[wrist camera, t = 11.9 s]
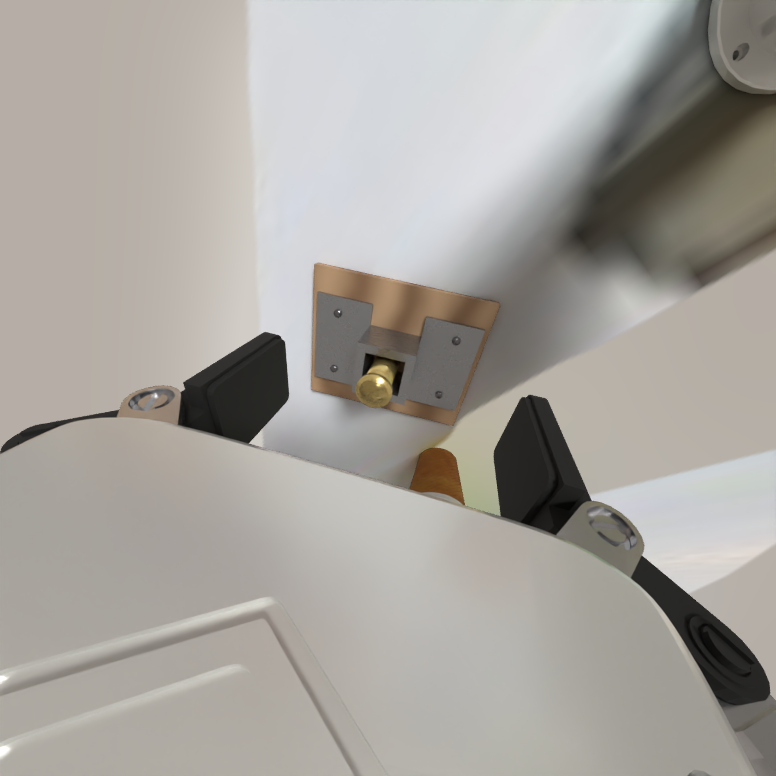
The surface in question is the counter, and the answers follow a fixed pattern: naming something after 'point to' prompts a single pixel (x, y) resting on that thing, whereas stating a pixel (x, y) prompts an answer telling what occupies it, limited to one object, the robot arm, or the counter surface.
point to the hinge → (394, 351)
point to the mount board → (401, 323)
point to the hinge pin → (377, 382)
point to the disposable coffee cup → (438, 476)
